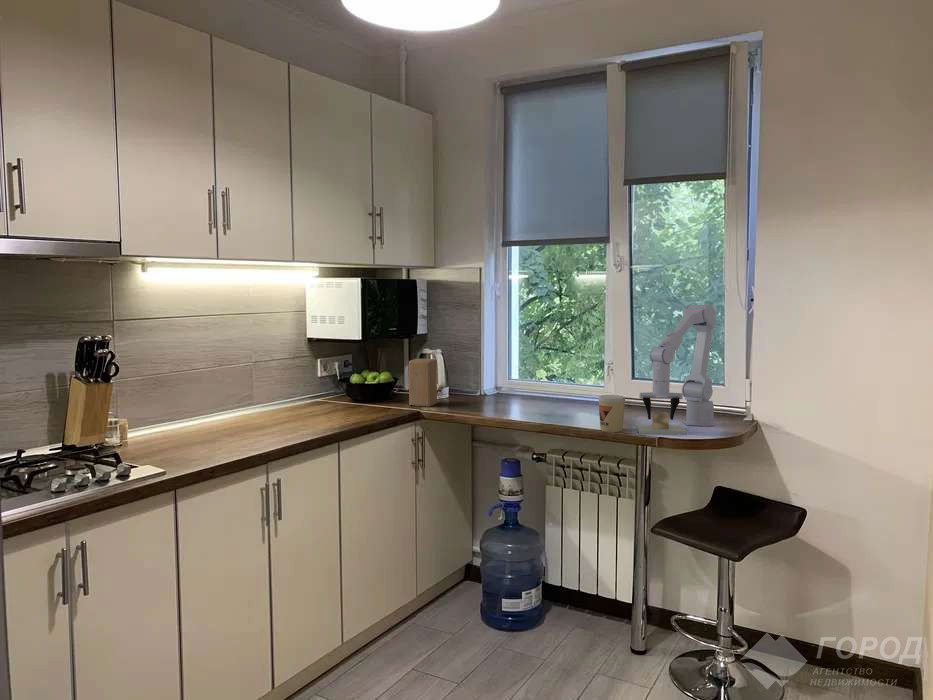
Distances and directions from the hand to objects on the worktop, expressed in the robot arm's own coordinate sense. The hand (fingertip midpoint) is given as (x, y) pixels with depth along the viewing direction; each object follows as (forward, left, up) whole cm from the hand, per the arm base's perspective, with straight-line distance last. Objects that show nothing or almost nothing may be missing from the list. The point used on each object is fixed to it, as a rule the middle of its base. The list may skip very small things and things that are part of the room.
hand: (660, 419), depth 254 cm
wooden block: (+94, -49, -4) cm, 106 cm away
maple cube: (0, 0, -3) cm, 3 cm away
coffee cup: (+17, 0, -4) cm, 18 cm away
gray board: (0, 0, -4) cm, 4 cm away
